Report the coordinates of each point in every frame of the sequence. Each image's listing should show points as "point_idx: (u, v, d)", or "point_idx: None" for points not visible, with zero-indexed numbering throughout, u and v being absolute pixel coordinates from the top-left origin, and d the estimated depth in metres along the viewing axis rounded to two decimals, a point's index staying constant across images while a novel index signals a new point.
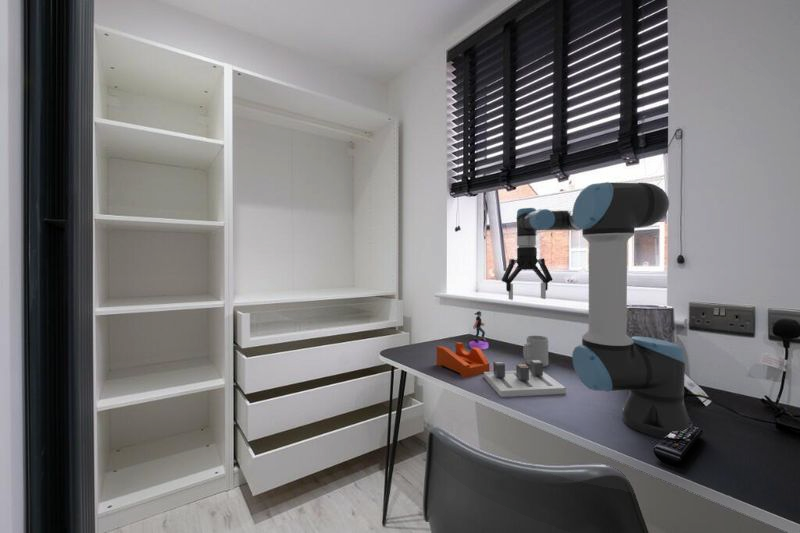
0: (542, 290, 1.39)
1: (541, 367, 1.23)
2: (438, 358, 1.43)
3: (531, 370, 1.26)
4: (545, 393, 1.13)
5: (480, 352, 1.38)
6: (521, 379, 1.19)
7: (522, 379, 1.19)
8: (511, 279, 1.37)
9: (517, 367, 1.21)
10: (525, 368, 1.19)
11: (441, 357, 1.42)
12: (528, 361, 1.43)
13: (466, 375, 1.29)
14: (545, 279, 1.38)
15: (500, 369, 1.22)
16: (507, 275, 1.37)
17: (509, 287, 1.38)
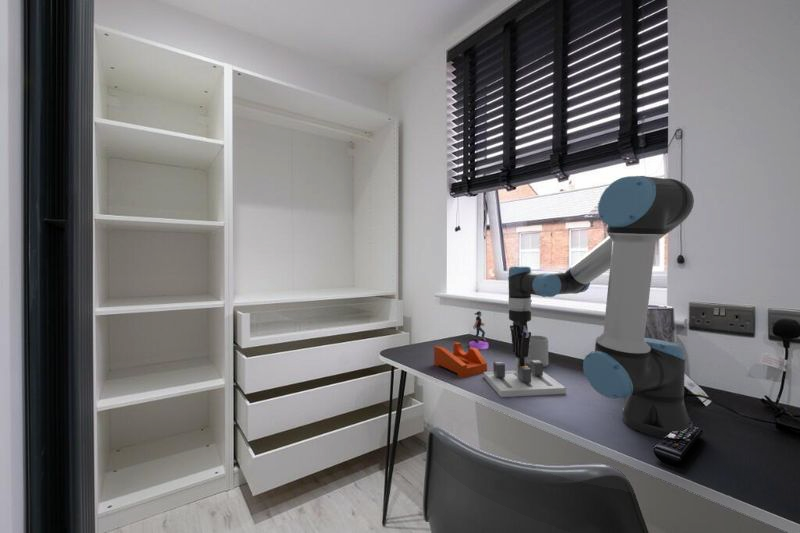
0: None
1: (541, 367, 1.23)
2: (436, 358, 1.43)
3: (531, 370, 1.26)
4: (545, 393, 1.13)
5: (477, 352, 1.38)
6: (523, 381, 1.17)
7: (524, 381, 1.17)
8: (515, 350, 1.24)
9: (519, 369, 1.20)
10: (527, 370, 1.17)
11: (438, 357, 1.42)
12: (528, 361, 1.43)
13: (463, 375, 1.29)
14: (518, 353, 1.21)
15: (500, 369, 1.22)
16: (512, 344, 1.26)
17: None
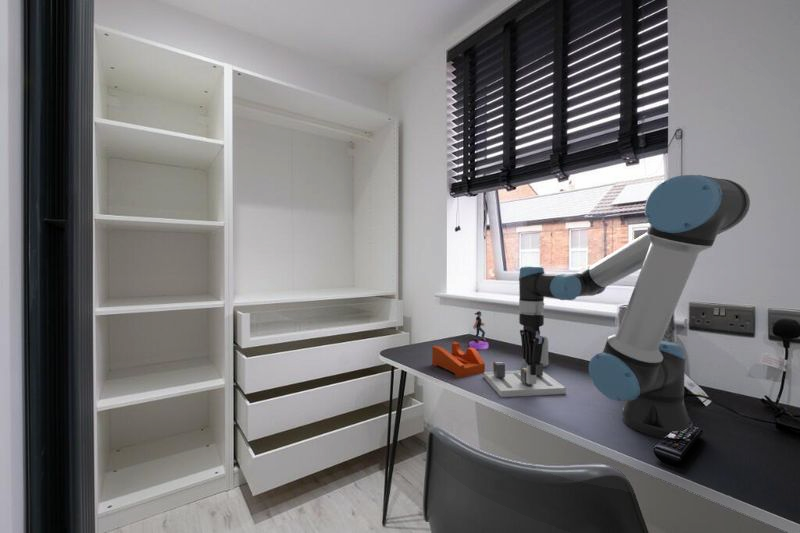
0: None
1: (541, 367, 1.23)
2: (434, 358, 1.44)
3: None
4: (545, 393, 1.13)
5: (475, 352, 1.38)
6: (526, 383, 1.15)
7: (527, 383, 1.15)
8: (526, 356, 1.14)
9: (521, 371, 1.17)
10: None
11: (436, 357, 1.42)
12: None
13: (461, 375, 1.30)
14: (529, 360, 1.12)
15: (500, 369, 1.22)
16: (523, 350, 1.17)
17: None
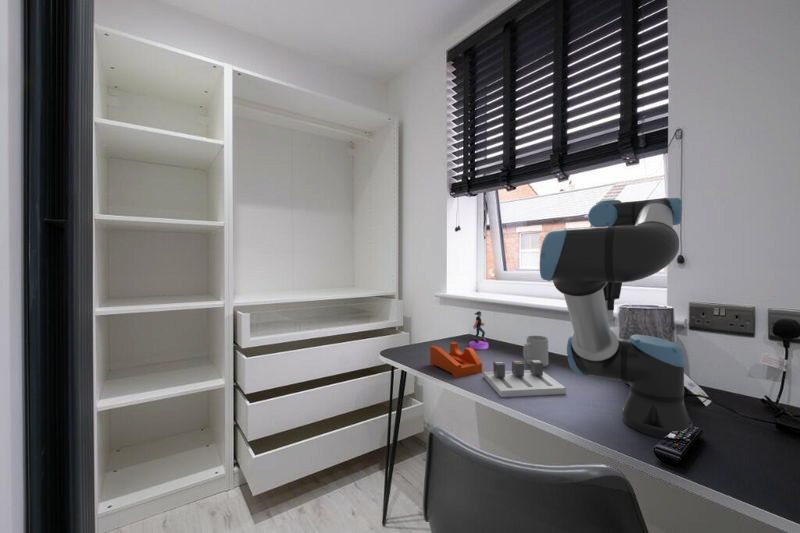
0: None
1: (541, 367, 1.23)
2: (431, 358, 1.44)
3: (531, 370, 1.26)
4: (545, 393, 1.13)
5: (473, 352, 1.38)
6: (516, 375, 1.23)
7: (517, 375, 1.23)
8: None
9: (512, 363, 1.25)
10: (520, 364, 1.23)
11: (434, 357, 1.42)
12: (528, 361, 1.43)
13: (457, 375, 1.30)
14: (607, 295, 1.11)
15: (500, 369, 1.22)
16: None
17: None
